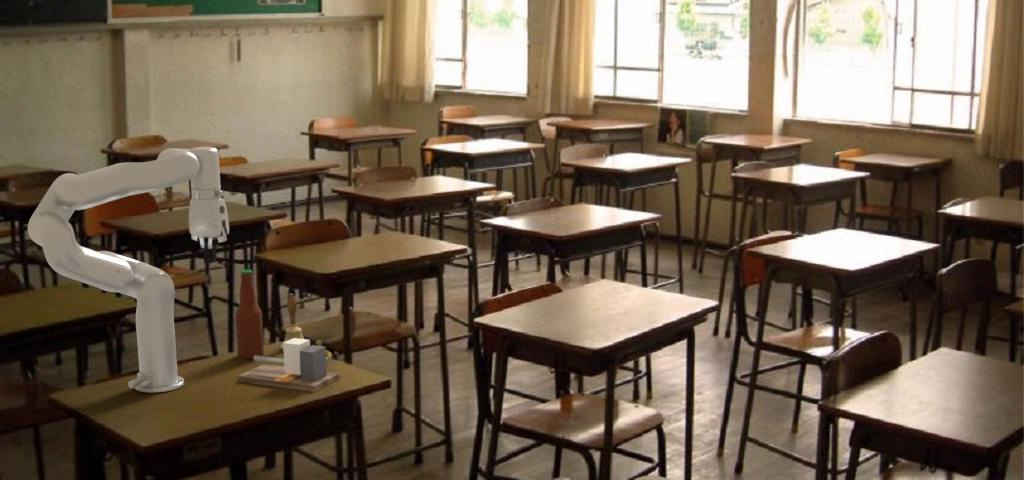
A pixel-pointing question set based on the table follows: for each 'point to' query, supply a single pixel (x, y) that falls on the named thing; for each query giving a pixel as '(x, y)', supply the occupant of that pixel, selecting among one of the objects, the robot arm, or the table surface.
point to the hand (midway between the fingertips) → (210, 262)
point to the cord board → (284, 378)
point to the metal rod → (268, 359)
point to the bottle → (248, 320)
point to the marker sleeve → (294, 354)
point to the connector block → (313, 363)
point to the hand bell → (292, 321)
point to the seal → (328, 354)
